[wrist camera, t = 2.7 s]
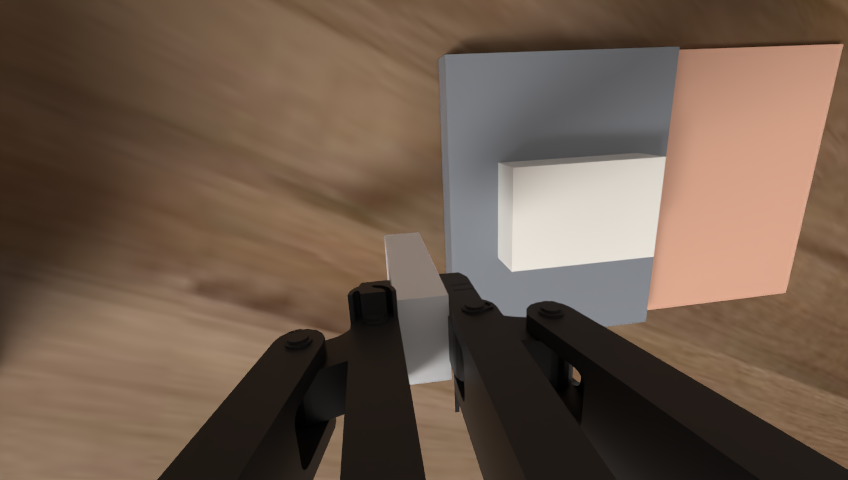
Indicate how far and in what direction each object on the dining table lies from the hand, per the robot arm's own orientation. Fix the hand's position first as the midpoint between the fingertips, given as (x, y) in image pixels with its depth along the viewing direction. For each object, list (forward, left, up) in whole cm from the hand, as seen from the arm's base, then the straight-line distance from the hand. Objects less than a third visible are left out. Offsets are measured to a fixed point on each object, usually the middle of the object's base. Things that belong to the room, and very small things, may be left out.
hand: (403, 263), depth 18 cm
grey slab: (+11, 0, -9) cm, 14 cm away
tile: (+11, 0, -7) cm, 13 cm away
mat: (+24, 0, -9) cm, 26 cm away
